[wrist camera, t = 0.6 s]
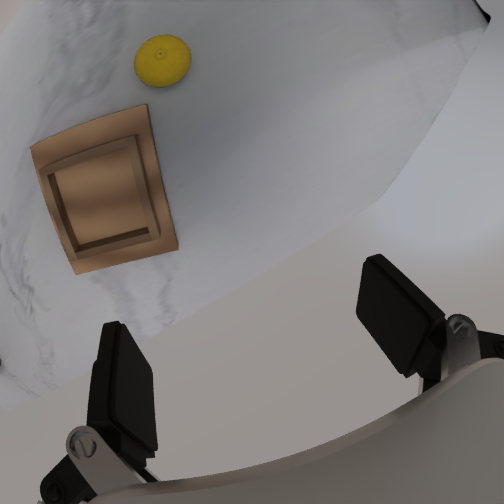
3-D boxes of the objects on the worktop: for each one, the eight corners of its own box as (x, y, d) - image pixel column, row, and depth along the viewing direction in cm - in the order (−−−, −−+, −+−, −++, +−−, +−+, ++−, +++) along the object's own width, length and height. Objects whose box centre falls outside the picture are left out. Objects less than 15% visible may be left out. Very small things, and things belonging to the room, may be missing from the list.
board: (35, 144, 23) (22, 149, 20) (147, 104, 26) (143, 103, 23) (78, 269, 33) (71, 283, 30) (178, 244, 35) (179, 257, 32)
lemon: (168, 98, 26) (165, 95, 19) (130, 74, 23) (115, 64, 17) (199, 61, 25) (207, 46, 18) (161, 37, 22) (157, 15, 15)
